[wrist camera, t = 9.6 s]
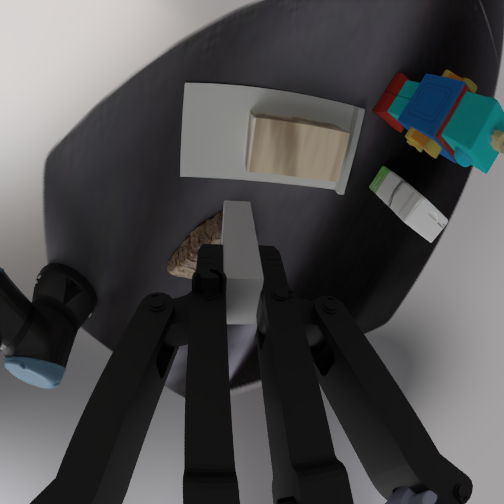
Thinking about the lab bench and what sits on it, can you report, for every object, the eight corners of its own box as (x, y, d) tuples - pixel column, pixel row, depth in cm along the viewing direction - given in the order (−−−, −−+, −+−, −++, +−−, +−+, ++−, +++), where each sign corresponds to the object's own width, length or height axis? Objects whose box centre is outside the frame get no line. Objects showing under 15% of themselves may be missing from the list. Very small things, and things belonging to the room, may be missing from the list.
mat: (180, 175, 40) (178, 180, 38) (185, 82, 32) (183, 83, 30) (339, 189, 43) (343, 194, 42) (359, 107, 35) (365, 109, 34)
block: (246, 171, 34) (337, 182, 36) (253, 117, 30) (349, 133, 32) (243, 157, 39) (323, 167, 41) (249, 110, 35) (333, 123, 36)
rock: (217, 200, 43) (216, 218, 39) (265, 235, 48) (269, 255, 43) (165, 261, 49) (160, 282, 44) (210, 287, 54) (210, 309, 49)
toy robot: (390, 137, 38) (504, 216, 18) (363, 116, 36) (485, 185, 16) (422, 86, 33) (548, 133, 13) (398, 62, 30) (533, 92, 10)
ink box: (367, 186, 43) (402, 223, 34) (383, 163, 41) (423, 195, 32) (397, 208, 46) (431, 245, 37) (412, 187, 44) (450, 221, 35)
